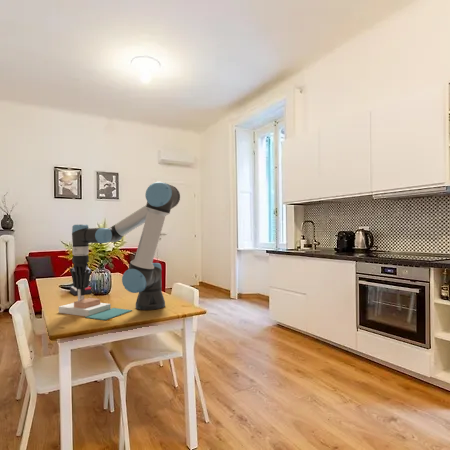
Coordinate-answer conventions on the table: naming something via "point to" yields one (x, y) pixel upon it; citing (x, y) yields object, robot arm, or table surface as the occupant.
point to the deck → (83, 309)
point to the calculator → (74, 290)
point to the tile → (87, 303)
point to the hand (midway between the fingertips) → (81, 301)
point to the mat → (108, 314)
